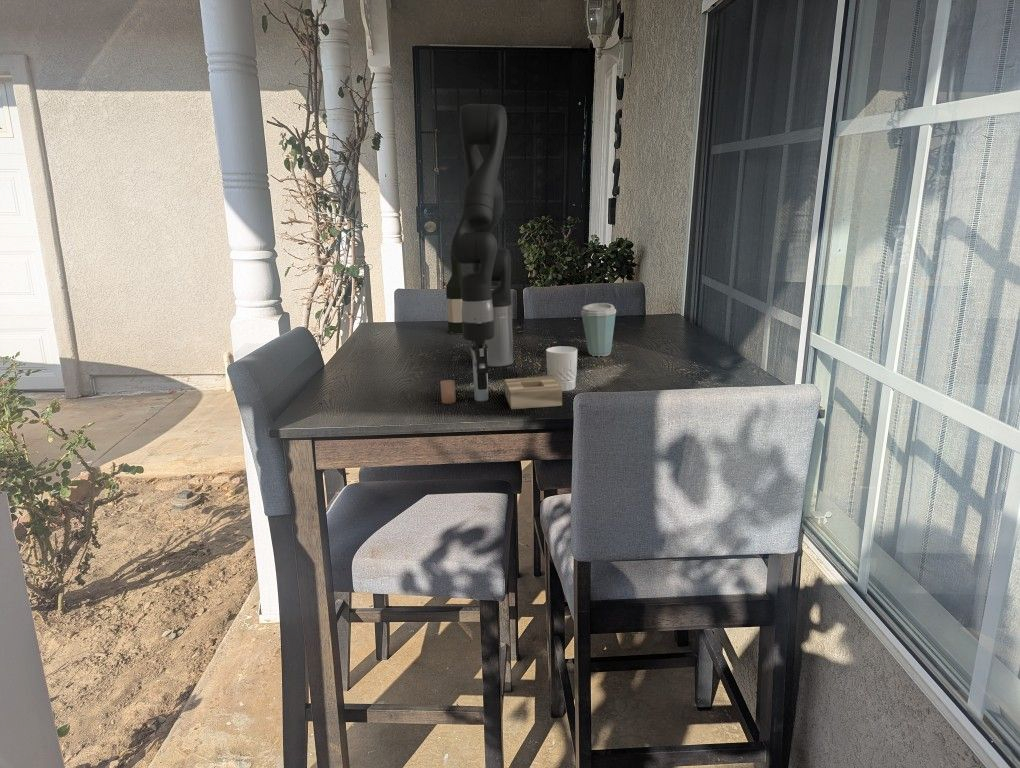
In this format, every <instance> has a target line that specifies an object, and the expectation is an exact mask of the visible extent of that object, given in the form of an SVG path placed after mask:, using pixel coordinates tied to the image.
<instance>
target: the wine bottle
mask: <svg viewBox="0 0 1020 768" xmlns="http://www.w3.org/2000/svg"><path fill="white" fill-rule="evenodd" d="M450 259H451V261H450V263H451V276H450V278H449V280H448V282H447V284H446V286H445V292H446V293H445V294H446V307H447V308H446V312H447V326H448V327H447V328H448V333H449V332H453V333H463V329H462V289H461V279H462V277H463V276H464V275H463V273H462V263H458V262H456V261H455V259H454V258H453V256H452V252H451V251H450Z"/></svg>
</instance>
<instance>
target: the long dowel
mask: <svg viewBox="0 0 1020 768" xmlns="http://www.w3.org/2000/svg"><path fill="white" fill-rule="evenodd" d="M479 368H484V366H479ZM472 373H473V391H474V393H473V394H474V401H476V402H485V401H488V400H490V399H489V383H488V382H489V380H488V377H489V376H488V374H487V389H485V390H479V389H478V383H477V373H476V366H474V362H473V361H472Z"/></svg>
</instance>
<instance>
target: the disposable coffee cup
mask: <svg viewBox="0 0 1020 768" xmlns="http://www.w3.org/2000/svg"><path fill="white" fill-rule="evenodd" d="M616 313H617V309H616V308H615V305H613V304H611V303H608V302H597V303H596V302H595V303H589V304H585V305H584V306H582V309H580V315H581V319H582V324H583V330H584V336H585V340H586V341H585V342H586V347H587V352H588V355H589V354H590V355H592V356H591V357H594V356H598V358H601V357H600V356H602V357H607V356H609V355H611V352H612V347H613V338H614V330H615V321H616ZM590 355H589V356H590Z"/></svg>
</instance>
